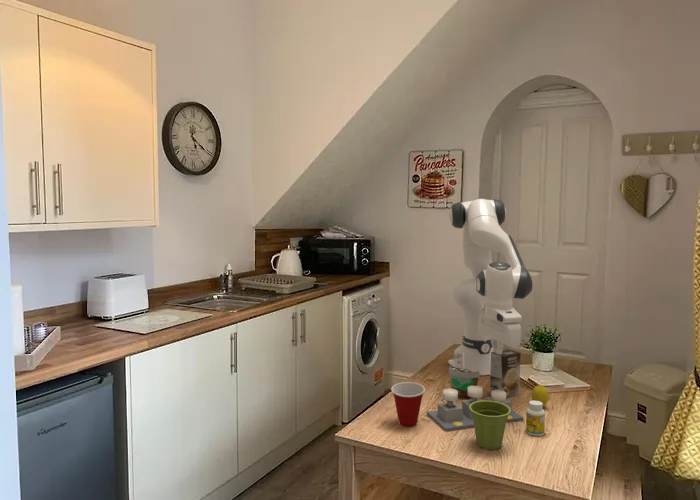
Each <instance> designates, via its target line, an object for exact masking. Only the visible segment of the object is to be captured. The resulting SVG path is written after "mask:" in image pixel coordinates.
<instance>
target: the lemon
mask: <svg viewBox="0 0 700 500" xmlns="http://www.w3.org/2000/svg"><path fill="white" fill-rule="evenodd" d="M548 391H549V390H548V389H547V388H546V387H545V386H543V385H542V384H539V385H536V386H535V387H533V389H532V391H531V401H540V402H542V403H543V406H546V405H547V403H548V401H549V392H548Z"/></svg>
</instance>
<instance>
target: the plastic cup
mask: <svg viewBox="0 0 700 500" xmlns="http://www.w3.org/2000/svg"><path fill="white" fill-rule="evenodd" d="M390 391H391V392H392V393H393V394H392V395H393V398H394V402H395V411H396V414H397V419H398V424H399V425H400V426H402V427H406V428H412V427H415V426H417V424H418V420H419V416H420V411H421V406H422V405H421V404H422V399H423V395H424V393H425V391H426V388H425V386H424V385H422V384H420V383H419V382H418V383H417V382H411V381H405V382H404V381H403V382H398V383H395V384H394V385H392V386H391V390H390Z"/></svg>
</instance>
